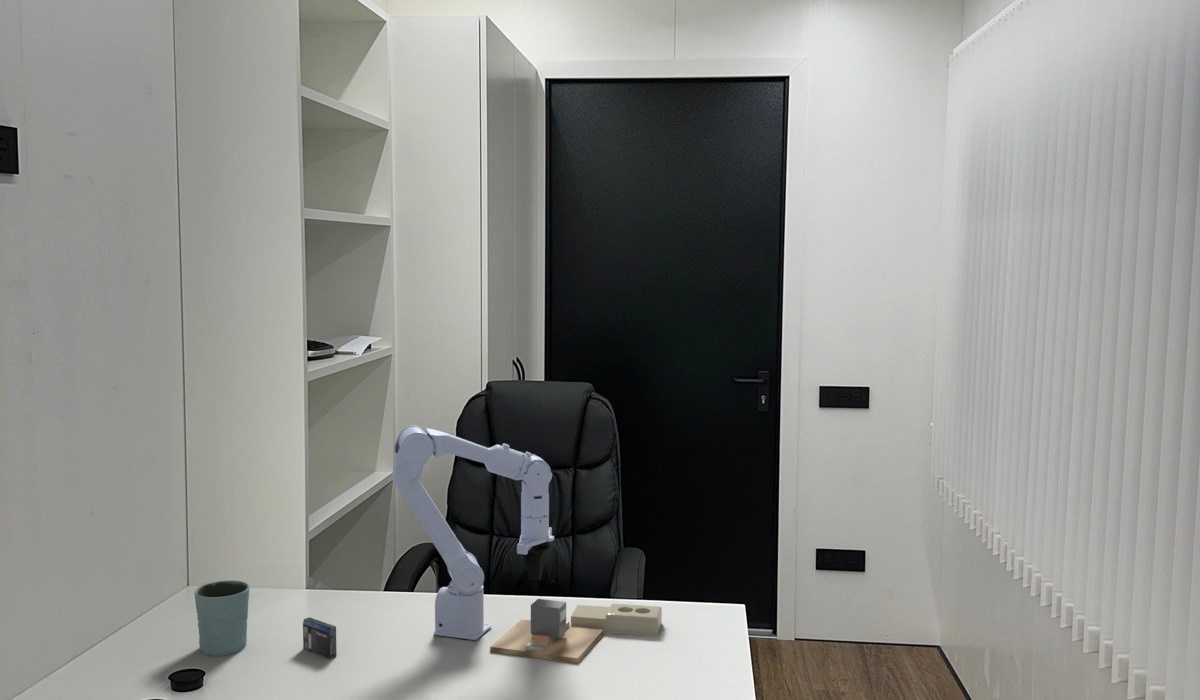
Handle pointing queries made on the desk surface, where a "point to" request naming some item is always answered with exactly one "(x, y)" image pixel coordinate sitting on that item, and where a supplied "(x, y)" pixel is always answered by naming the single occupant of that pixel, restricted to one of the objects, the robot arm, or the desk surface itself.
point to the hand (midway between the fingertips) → (535, 579)
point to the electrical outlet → (619, 618)
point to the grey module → (548, 617)
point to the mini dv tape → (319, 637)
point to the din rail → (541, 641)
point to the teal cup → (222, 617)
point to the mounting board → (562, 649)
